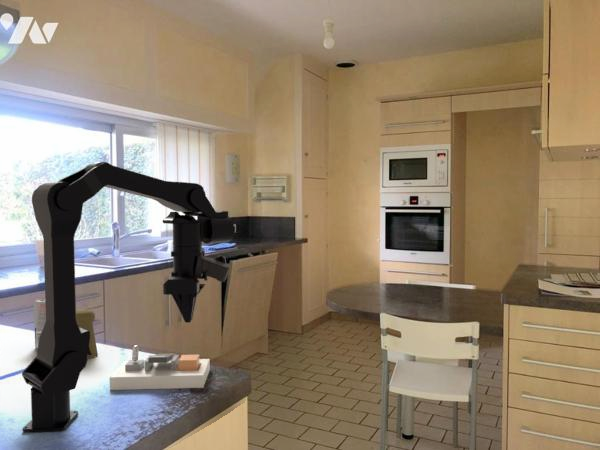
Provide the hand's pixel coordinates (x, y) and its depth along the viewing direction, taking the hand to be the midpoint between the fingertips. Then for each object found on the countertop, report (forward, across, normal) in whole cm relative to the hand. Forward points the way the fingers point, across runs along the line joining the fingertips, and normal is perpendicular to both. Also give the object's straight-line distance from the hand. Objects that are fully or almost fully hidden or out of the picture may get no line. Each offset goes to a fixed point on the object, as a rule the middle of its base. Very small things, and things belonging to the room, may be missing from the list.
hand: (188, 321), depth 101 cm
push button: (+10, 0, 0) cm, 10 cm away
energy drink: (+12, +25, +40) cm, 48 cm away
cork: (+12, +17, +28) cm, 35 cm away
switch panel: (+12, 0, +6) cm, 13 cm away
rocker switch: (+8, 0, +6) cm, 9 cm away
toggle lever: (+8, 0, +11) cm, 14 cm away
